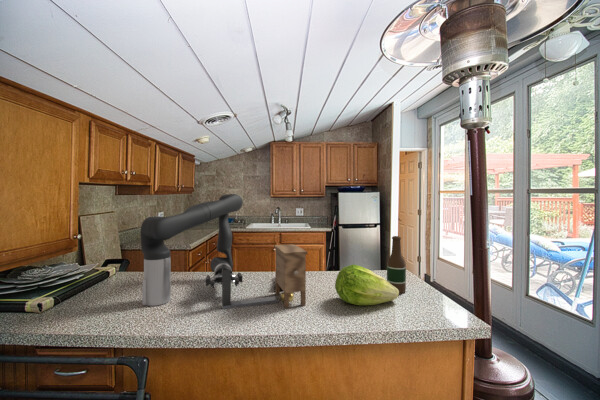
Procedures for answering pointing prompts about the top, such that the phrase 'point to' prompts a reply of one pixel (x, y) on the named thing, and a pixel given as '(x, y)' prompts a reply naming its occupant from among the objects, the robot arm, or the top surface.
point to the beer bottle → (396, 266)
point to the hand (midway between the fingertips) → (225, 284)
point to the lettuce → (363, 286)
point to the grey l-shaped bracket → (239, 303)
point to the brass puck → (289, 297)
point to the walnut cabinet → (290, 271)
